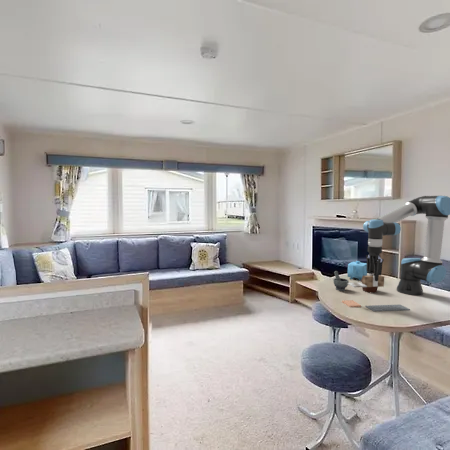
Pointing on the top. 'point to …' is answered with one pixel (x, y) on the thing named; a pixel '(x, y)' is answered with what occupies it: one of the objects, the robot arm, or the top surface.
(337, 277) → the mortar and pestle
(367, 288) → the muffin
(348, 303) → the tile
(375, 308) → the tool mat
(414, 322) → the top surface
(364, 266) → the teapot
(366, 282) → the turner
